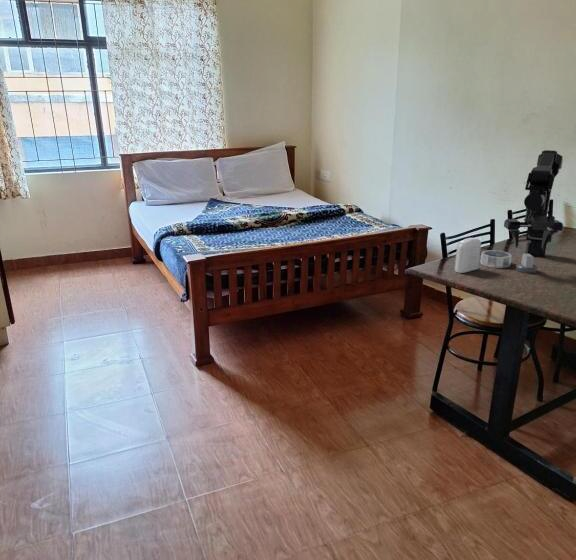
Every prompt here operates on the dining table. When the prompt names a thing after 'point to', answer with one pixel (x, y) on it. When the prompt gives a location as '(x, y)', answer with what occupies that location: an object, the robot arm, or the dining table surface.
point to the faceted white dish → (495, 259)
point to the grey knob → (526, 265)
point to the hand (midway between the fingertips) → (529, 247)
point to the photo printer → (467, 255)
